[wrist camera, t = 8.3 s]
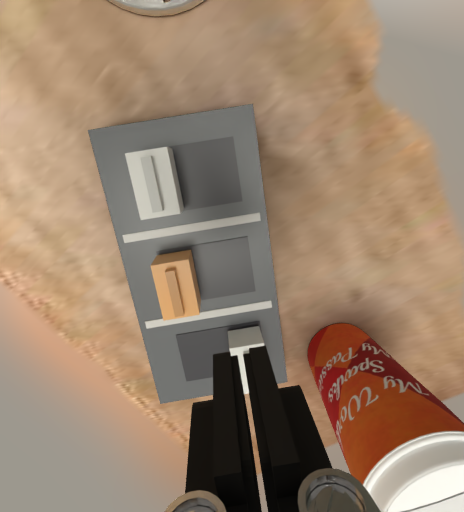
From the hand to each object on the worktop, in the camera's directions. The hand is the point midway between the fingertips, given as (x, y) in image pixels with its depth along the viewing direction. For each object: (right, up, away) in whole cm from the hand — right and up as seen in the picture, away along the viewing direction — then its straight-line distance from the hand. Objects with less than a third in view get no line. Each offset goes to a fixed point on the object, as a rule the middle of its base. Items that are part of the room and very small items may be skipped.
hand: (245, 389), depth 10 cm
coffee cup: (+10, -5, +20) cm, 23 cm away
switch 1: (-5, +9, +12) cm, 16 cm away
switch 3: (+1, -3, +16) cm, 16 cm away
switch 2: (-4, +3, +14) cm, 14 cm away
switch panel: (-3, +4, +17) cm, 18 cm away
